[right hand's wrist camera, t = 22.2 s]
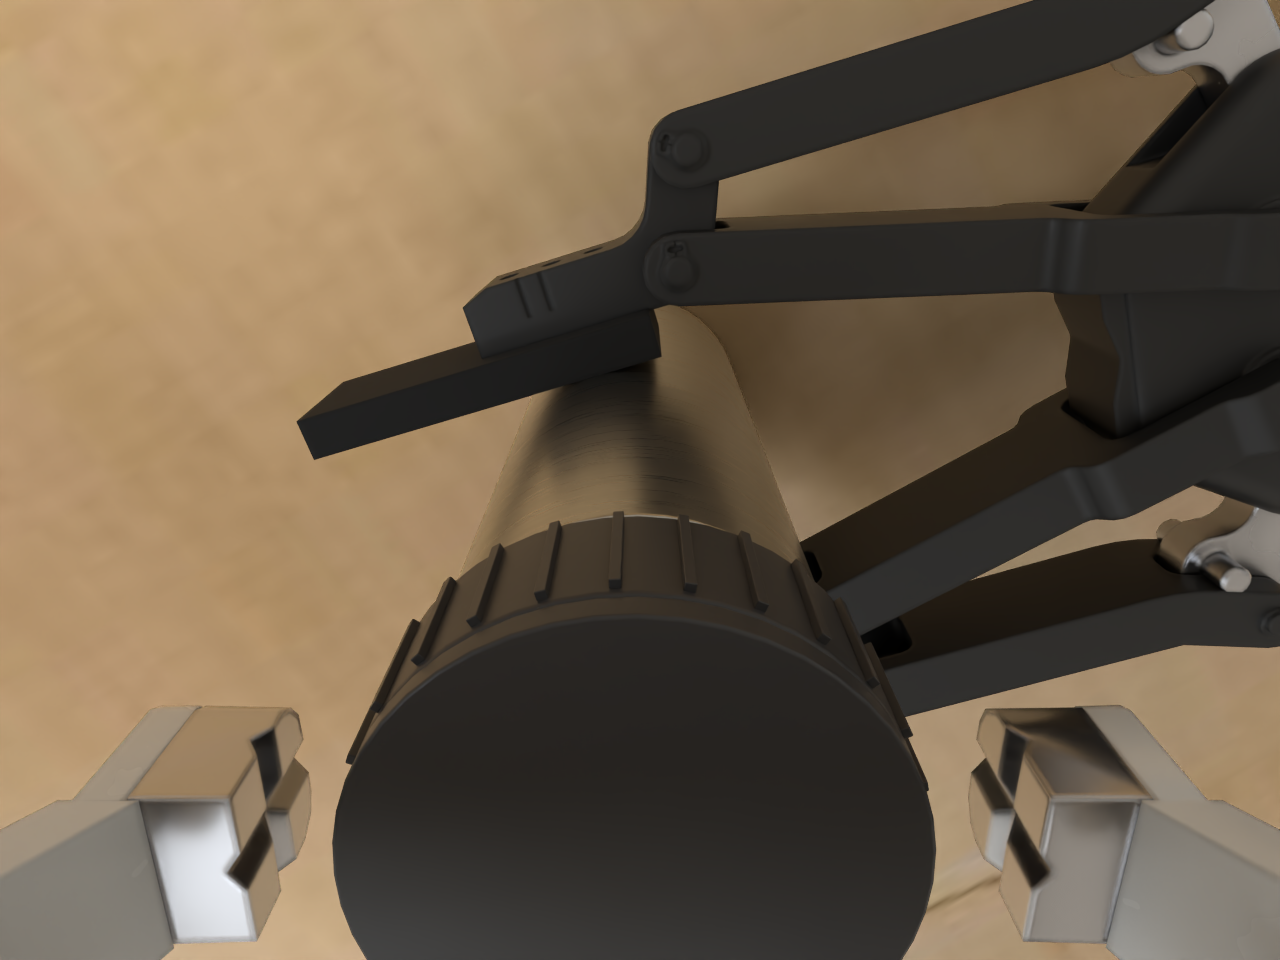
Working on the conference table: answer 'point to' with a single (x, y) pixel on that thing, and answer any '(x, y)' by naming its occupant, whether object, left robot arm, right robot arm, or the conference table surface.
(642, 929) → the lid
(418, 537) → the conference table surface
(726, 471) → the jar
